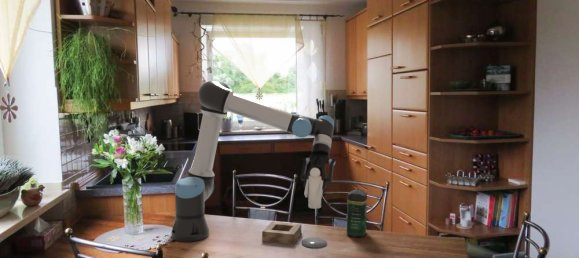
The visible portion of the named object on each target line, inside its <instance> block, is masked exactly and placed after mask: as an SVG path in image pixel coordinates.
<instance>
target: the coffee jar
mask: <svg viewBox="0 0 579 258" xmlns="http://www.w3.org/2000/svg"><path fill="white" fill-rule="evenodd" d="M367 205H368V193H367V192H366V191H365V190H364V189H356V188H355V189H353V190H351V191H350V192H348V194H347V211H346V212H347V213H346V215H347V217H346V234H347V235H348V236H351V237H355V238H356V237H357V238H358V237H363V236H365V234H366V233H367V209H368V207H367Z"/></svg>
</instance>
